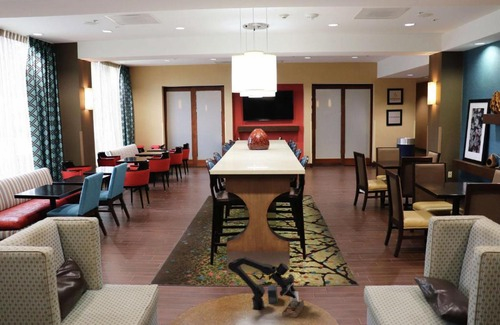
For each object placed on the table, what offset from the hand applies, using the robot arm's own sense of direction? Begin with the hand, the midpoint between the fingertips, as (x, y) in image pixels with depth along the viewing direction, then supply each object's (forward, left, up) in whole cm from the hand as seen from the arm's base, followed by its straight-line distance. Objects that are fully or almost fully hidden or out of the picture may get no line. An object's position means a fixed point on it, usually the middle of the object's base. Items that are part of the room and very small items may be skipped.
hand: (296, 296), depth 298 cm
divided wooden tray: (-1, -5, -9) cm, 10 cm away
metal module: (-1, 0, -6) cm, 7 cm away
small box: (-20, +10, -9) cm, 25 cm away
